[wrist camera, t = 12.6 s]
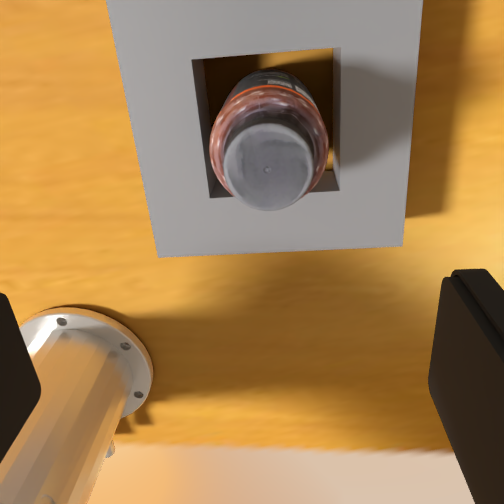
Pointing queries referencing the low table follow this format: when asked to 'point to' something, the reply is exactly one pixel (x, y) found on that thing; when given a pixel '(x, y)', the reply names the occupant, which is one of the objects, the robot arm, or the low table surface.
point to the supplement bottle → (269, 141)
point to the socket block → (199, 129)
